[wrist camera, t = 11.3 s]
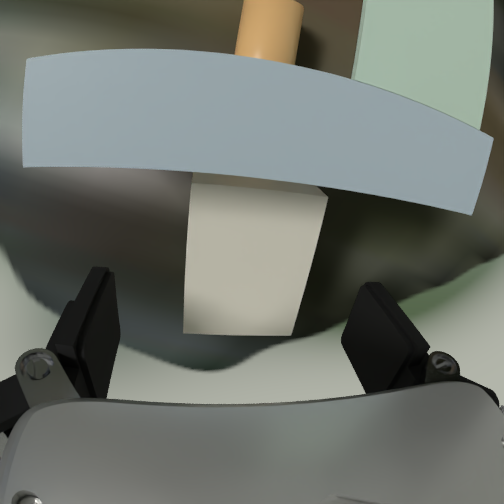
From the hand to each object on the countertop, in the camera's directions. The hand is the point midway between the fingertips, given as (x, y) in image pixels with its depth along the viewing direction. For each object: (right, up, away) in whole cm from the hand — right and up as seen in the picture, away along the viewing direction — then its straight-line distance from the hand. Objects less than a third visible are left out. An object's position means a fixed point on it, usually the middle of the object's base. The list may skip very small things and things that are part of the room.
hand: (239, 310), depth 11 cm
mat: (+11, +18, -2) cm, 21 cm away
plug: (0, +6, +3) cm, 7 cm away
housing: (0, +8, +1) cm, 9 cm away
